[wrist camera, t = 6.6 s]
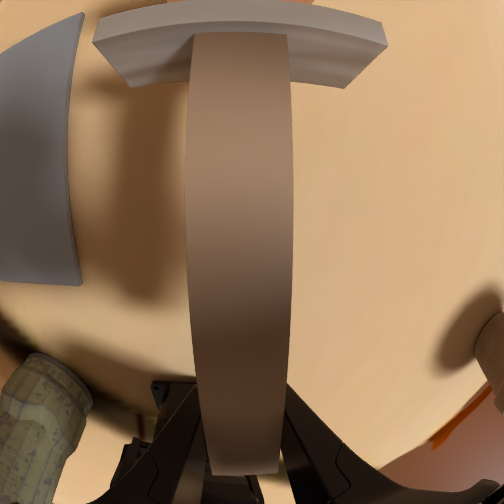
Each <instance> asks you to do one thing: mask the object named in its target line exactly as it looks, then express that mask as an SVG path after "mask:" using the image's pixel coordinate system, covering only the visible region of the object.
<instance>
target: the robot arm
mask: <svg viewBox="0 0 504 504" xmlns="http://www.w3.org/2000/svg"><path fill="white" fill-rule="evenodd" d="M156 386H157V387H156ZM151 390H152V393H153V396H154V399H155V402H156V405H157V407H158V410H159V414H158V419H157V423H156V428H155V433H154V438H153V442H152V443H149V442H145V441H142V440H141V439H139V438H136V437H133V440H132V443H131V444H124V448H123V452H122V455H121V459H120V462H119V464H118V467H117V469H116V471H115V473H114V476H113V478H112V480H111V483H110V489H109V490H108V491H107V492H105V493H104V494H103V495H102V496H101V497H99V498H98V499H96V500H94V501H92V502H90V503H87V504H264V498H263V495H262V492H261V489H260V486H259V482H258V479H257V476H256V475H212V471H211V466H210V461H209V456H208V451H207V445H206V439H205V434H204V428H203V422H202V415H201V409H200V402H199V395H198V387H197V383H182V382H165V381H153V382H152V383H151ZM281 452H282V455H283V459H284V463H285V467H286V470H287V474H288V477H289V481H290V485H291V488H292V492H293V495H294V499H295V503H296V504H504V484H503V485H502V486H500V484H499V483H498V482H496V481H493V480H487V479H482V480H480V481H479V482H477V483H476V484H475V485H473V486H472V487H471V488H469V489H467V490H464V491H461V492H439V491H429V490H420V489H413V488H408V487H404V486H402V485H399V484H397V483H396V482H394V481H392V480H391V479H389V478H388V477H386V476H385V475H383V474H382V473H380V472H379V471H377V470H376V469H375V468H373V467H372V466H370V465H369V464H368V463H366V462H365V461H364V460H362V459H361V458H360V457H359V456H358V455H356V454H355V453H354V452H353V451H352V450H351V449H350V448H349V447H348V446H347V445H346V444H345V443H342V440H341V439H340V438H339V437H338V436H337V435H336V434H335V433H334V432H333V431H332V430H331V429H330V428H329V427H328V426H327V425H326V424H325V423H324V422H323V421H322V420H321V419H320V418H319V417H318V416H317V415H316V414H315V413H314V412H313V411H312V409H311V408H310V407H309V406H308V405H307V404H306V403H305V402H304V401H303V400H302V399H301V398H300V397H299V395H298V394H297V393H296V392H295V391H294V390H293V389H292V388H291V387H290V386H289V384H287V383H286V396H285V408H284V419H283V429H282V439H281ZM499 486H500V487H499ZM498 487H499V488H498ZM497 488H498V489H497ZM7 504H20V503H19V502H17V501H13V502H10V503H7Z"/></svg>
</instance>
